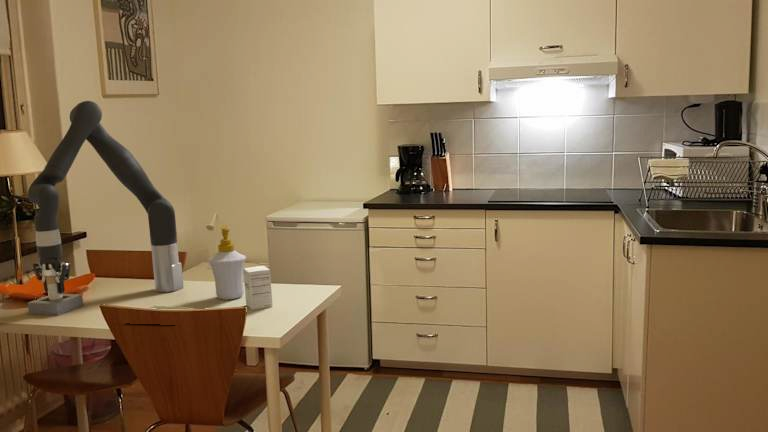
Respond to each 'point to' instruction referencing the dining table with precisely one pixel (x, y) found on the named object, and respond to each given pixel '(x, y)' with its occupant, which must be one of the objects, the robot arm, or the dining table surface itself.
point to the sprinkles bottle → (52, 287)
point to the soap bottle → (228, 269)
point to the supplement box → (258, 287)
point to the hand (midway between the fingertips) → (54, 292)
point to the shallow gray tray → (55, 305)
